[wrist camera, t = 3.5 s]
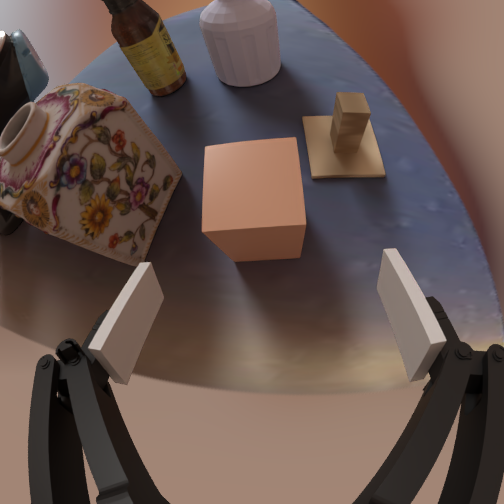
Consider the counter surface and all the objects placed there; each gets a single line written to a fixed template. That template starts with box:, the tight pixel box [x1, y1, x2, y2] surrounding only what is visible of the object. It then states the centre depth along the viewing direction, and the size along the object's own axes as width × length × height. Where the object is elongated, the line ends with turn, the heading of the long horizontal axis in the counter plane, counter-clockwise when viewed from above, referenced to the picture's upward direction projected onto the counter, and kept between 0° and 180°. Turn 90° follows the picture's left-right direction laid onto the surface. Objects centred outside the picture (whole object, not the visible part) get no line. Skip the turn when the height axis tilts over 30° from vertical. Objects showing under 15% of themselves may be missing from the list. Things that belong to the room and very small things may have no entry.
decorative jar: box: [0, 83, 182, 267], centre depth 20 cm, size 12×12×18 cm
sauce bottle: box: [102, 0, 186, 96], centre depth 24 cm, size 6×6×20 cm
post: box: [302, 92, 386, 179], centre depth 24 cm, size 8×8×7 cm
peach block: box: [202, 137, 306, 262], centre depth 21 cm, size 6×6×10 cm
